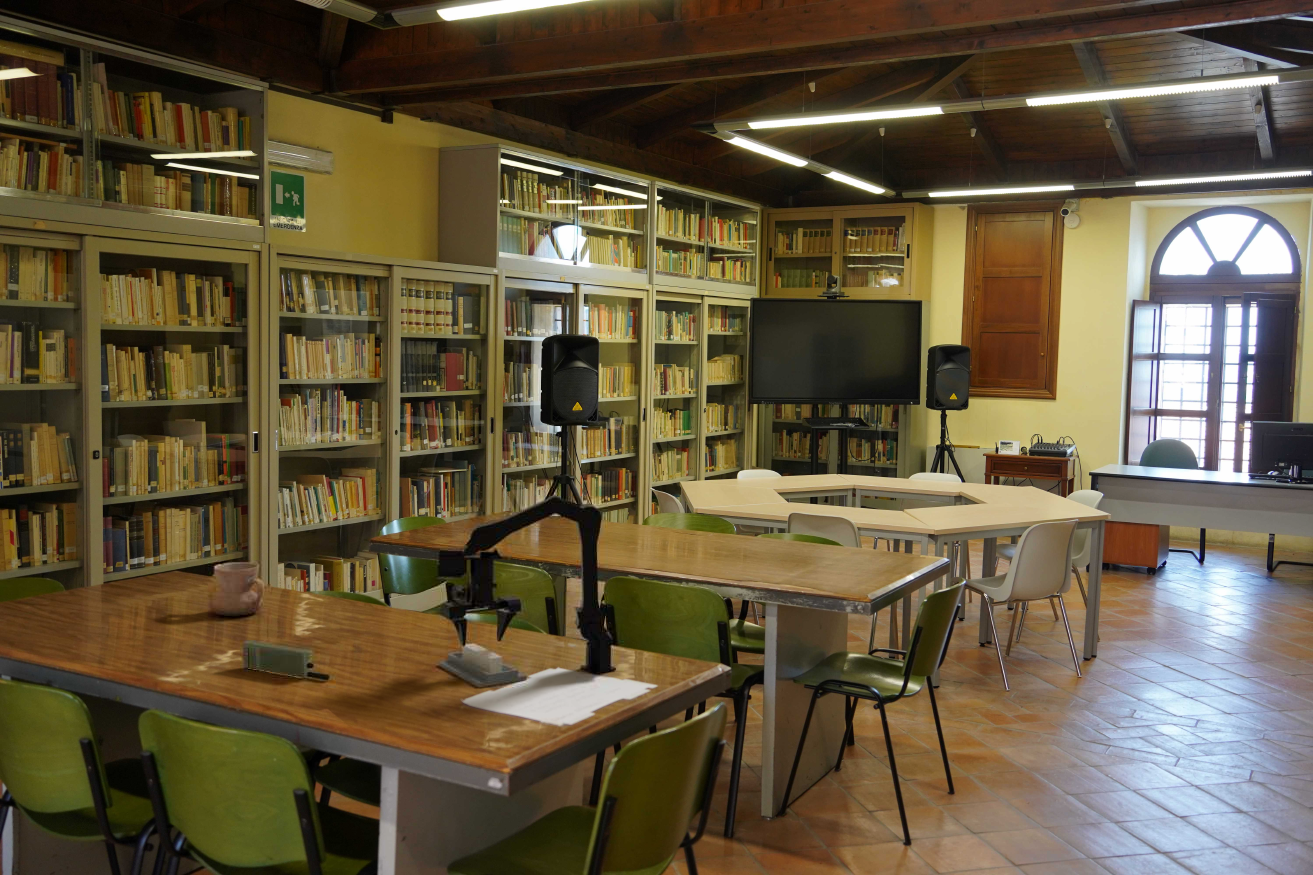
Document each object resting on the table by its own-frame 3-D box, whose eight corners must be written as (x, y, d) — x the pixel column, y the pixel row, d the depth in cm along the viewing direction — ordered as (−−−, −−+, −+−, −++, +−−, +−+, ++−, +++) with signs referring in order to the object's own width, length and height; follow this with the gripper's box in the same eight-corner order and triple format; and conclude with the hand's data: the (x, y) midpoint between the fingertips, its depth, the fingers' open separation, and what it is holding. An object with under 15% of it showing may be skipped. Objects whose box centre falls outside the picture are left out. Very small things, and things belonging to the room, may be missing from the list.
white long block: (502, 673, 245) (502, 656, 245) (490, 675, 243) (490, 658, 243) (473, 659, 257) (473, 643, 257) (462, 661, 256) (462, 644, 255)
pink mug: (194, 615, 305) (195, 566, 304) (233, 605, 318) (233, 558, 317) (242, 623, 297) (242, 573, 296) (279, 613, 311) (280, 565, 310)
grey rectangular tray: (526, 679, 245) (526, 668, 245) (479, 687, 238) (479, 676, 238) (483, 658, 263) (483, 648, 263) (438, 665, 256) (438, 654, 256)
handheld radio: (252, 666, 253) (333, 680, 242) (241, 670, 250) (323, 684, 239) (251, 639, 252) (332, 652, 241) (240, 642, 249) (322, 656, 238)
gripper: (502, 569, 261) (501, 631, 262) (430, 575, 250) (430, 641, 251) (523, 576, 252) (522, 641, 253) (450, 583, 241) (450, 651, 242)
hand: (481, 643), depth 250 cm, fingers open, 9 cm apart
